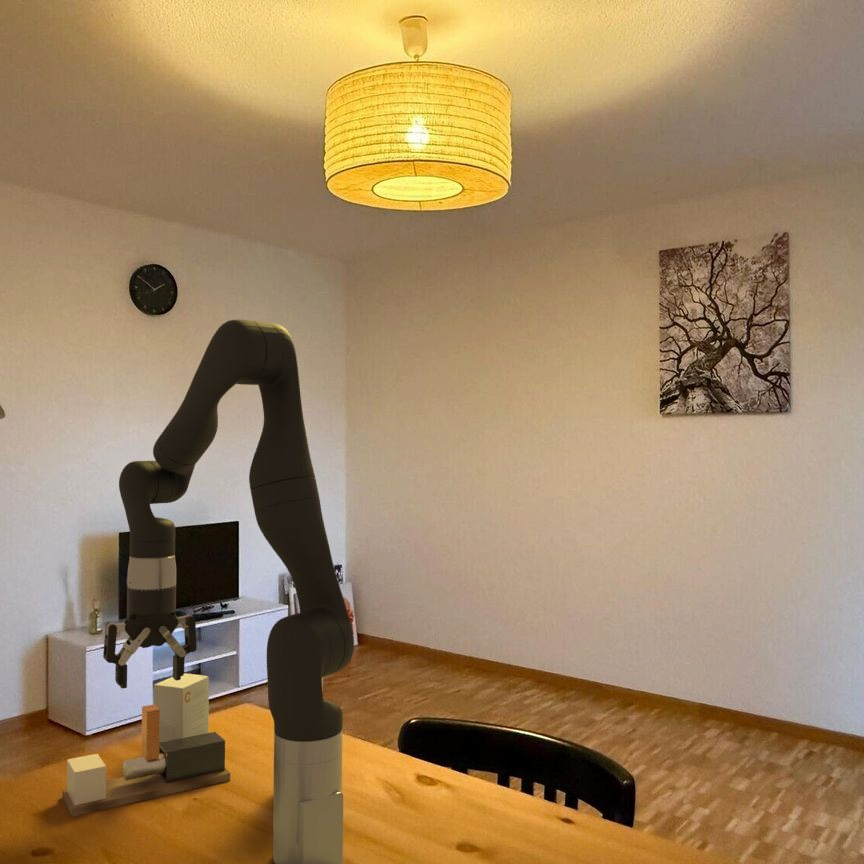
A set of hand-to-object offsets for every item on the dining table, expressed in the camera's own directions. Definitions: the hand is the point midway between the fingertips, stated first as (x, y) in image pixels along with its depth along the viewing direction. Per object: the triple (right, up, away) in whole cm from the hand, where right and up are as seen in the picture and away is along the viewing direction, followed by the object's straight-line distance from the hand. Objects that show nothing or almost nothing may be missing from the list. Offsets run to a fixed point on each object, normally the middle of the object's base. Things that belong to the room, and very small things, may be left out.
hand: (150, 683), depth 134 cm
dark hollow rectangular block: (+6, -16, +4) cm, 17 cm away
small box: (0, -17, +16) cm, 23 cm away
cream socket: (-8, -16, -5) cm, 19 cm away
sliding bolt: (+2, -15, +2) cm, 15 cm away
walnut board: (0, -17, 0) cm, 17 cm away
